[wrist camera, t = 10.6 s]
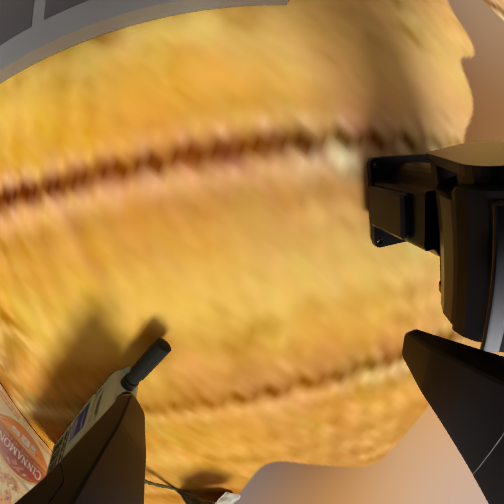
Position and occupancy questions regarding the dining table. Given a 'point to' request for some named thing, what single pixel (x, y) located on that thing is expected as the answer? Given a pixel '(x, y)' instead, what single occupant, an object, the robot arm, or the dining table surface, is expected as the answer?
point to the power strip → (81, 23)
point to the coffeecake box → (19, 453)
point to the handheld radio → (108, 398)
